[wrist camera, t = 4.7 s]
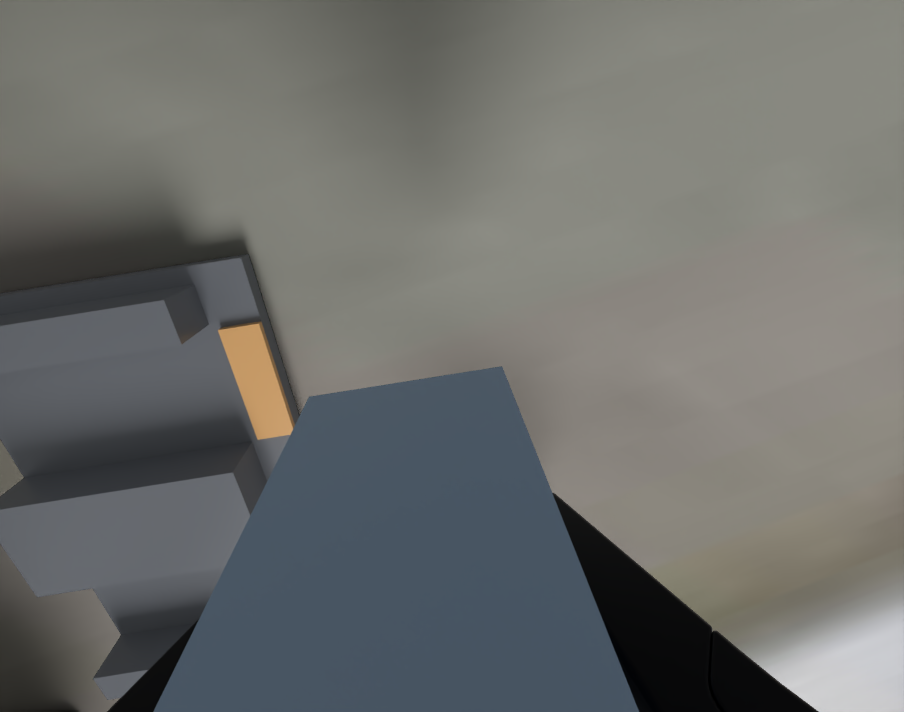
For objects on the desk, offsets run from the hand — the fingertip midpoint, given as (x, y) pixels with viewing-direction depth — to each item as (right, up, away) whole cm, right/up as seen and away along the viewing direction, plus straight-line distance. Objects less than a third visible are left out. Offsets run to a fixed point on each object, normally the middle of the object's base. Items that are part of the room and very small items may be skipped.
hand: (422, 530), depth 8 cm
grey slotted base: (-12, -3, +13) cm, 18 cm away
